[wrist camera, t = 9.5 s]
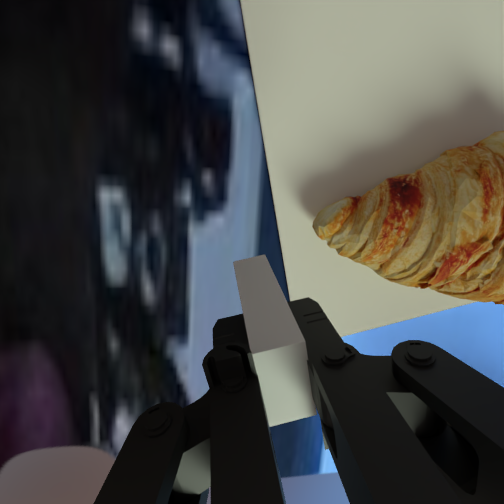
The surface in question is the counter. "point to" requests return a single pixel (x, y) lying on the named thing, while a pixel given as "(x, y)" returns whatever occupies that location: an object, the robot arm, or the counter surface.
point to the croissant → (430, 224)
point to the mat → (366, 123)
